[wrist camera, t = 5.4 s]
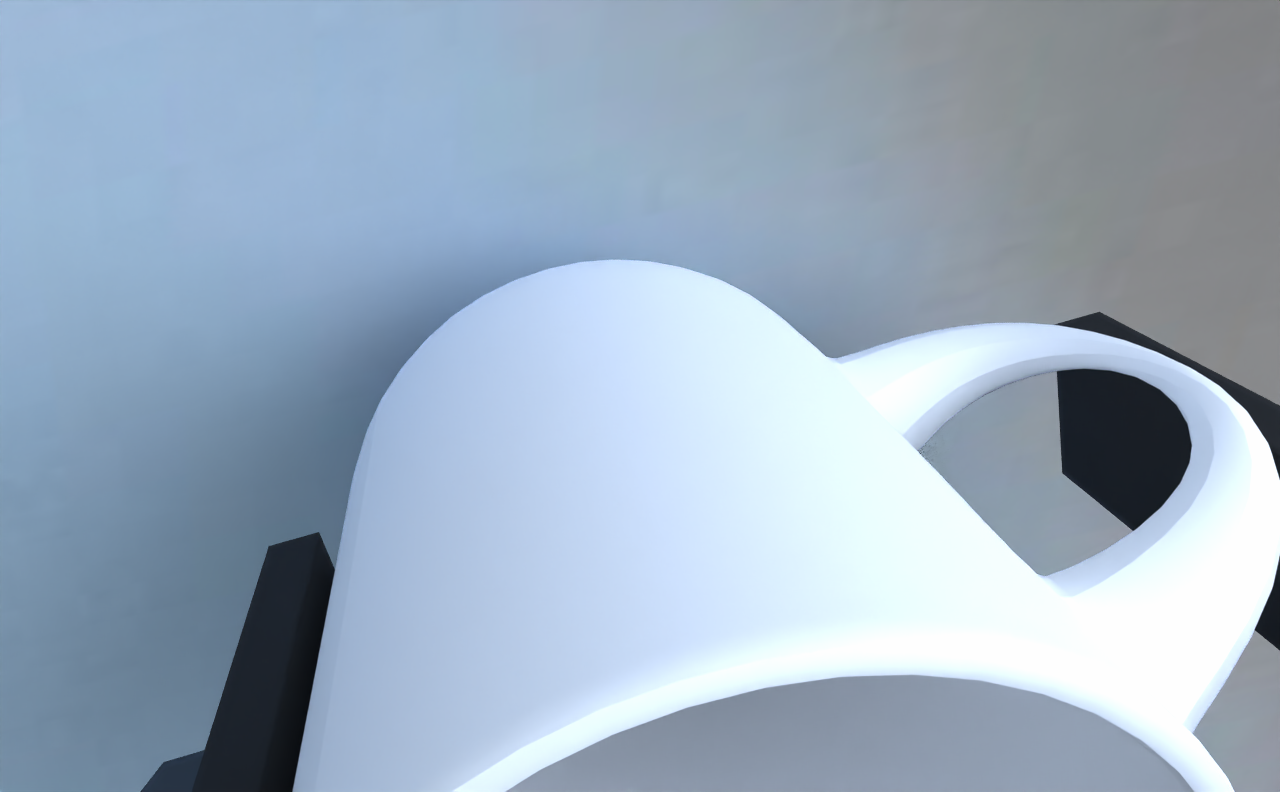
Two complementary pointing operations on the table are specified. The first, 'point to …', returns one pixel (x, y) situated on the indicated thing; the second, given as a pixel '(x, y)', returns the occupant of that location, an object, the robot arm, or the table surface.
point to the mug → (757, 565)
